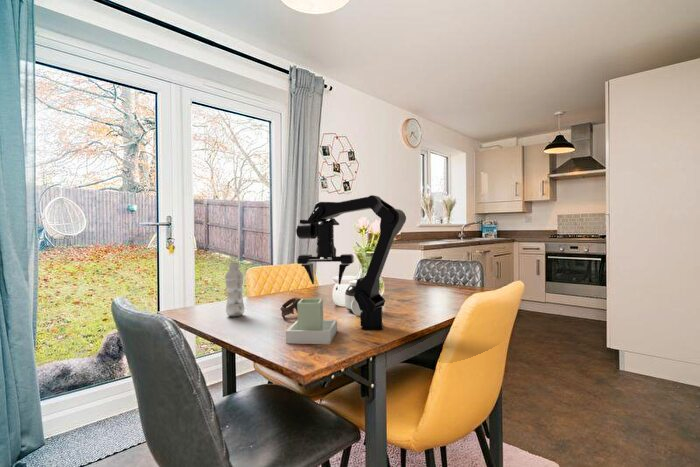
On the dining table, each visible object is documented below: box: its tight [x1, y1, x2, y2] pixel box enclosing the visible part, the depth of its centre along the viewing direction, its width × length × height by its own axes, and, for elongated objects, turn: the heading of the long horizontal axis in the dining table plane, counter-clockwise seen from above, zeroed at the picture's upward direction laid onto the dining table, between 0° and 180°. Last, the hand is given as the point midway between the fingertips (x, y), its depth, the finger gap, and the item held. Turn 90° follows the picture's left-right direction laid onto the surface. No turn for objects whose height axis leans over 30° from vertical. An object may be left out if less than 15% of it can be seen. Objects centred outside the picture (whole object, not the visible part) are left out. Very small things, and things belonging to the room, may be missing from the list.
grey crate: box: [285, 319, 338, 345], centre depth 105 cm, size 13×13×4 cm
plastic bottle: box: [224, 261, 245, 318], centre depth 132 cm, size 6×7×20 cm
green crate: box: [296, 298, 324, 331], centre depth 105 cm, size 6×6×10 cm
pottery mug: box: [280, 297, 302, 319], centre depth 130 cm, size 12×10×8 cm
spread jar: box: [344, 279, 362, 317], centre depth 135 cm, size 12×11×12 cm
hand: (326, 284), depth 122 cm, fingers open, 9 cm apart
